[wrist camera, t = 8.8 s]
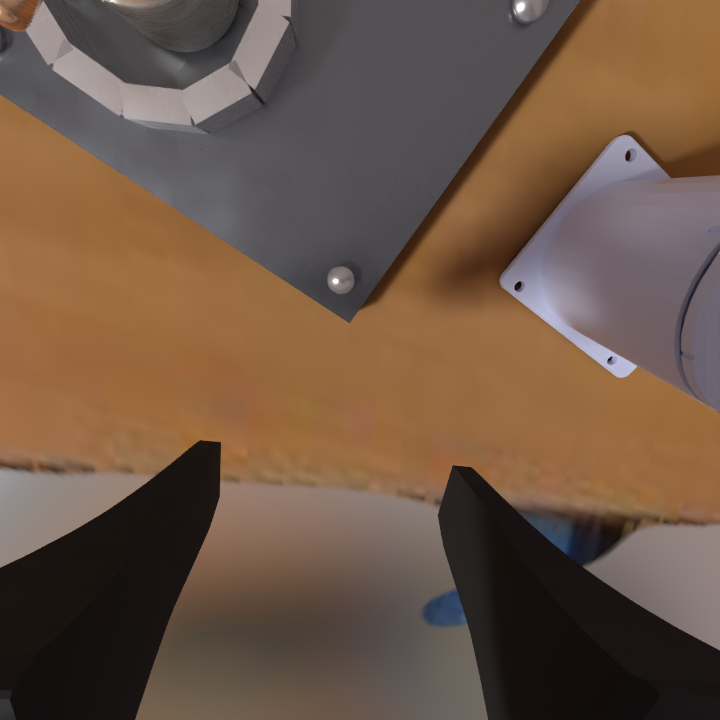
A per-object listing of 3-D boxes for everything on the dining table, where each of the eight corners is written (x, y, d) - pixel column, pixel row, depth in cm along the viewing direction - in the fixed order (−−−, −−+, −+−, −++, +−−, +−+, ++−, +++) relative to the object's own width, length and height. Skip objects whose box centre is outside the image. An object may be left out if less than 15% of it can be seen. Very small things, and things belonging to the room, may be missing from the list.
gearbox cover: (563, 11, 15) (623, -39, 12) (348, 314, 20) (350, 337, 16) (118, -480, 11) (21, -775, 7) (-34, 60, 15) (-137, 23, 12)
